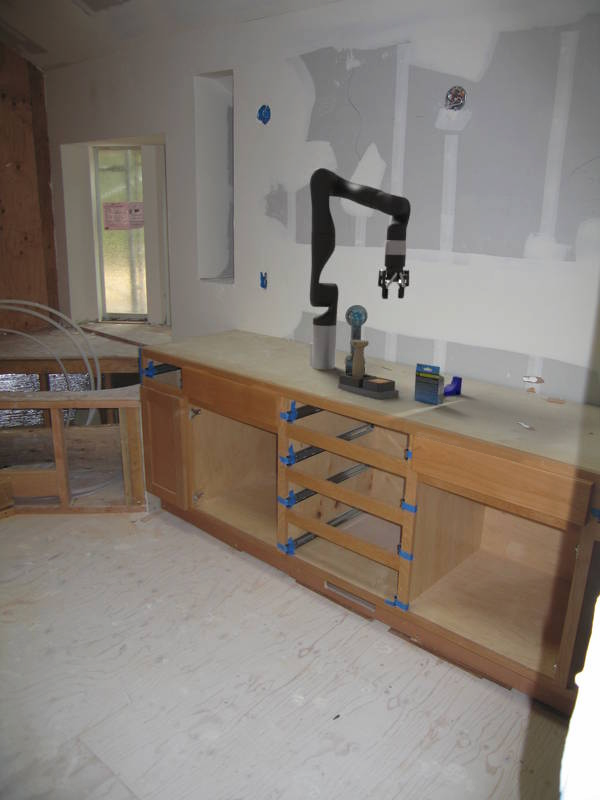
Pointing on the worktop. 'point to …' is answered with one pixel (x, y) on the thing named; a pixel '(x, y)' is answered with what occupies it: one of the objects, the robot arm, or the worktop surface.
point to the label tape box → (429, 384)
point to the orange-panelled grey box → (368, 386)
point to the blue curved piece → (453, 387)
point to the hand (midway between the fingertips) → (392, 298)
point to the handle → (358, 357)
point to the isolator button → (378, 380)
